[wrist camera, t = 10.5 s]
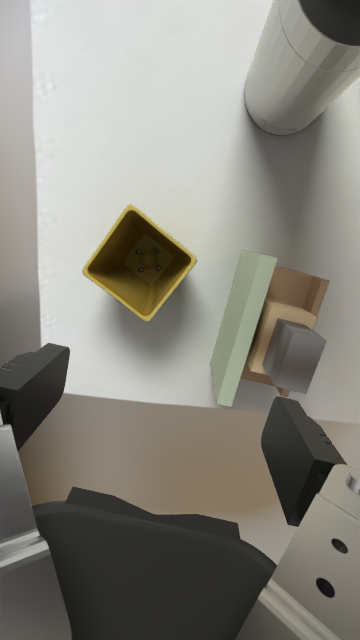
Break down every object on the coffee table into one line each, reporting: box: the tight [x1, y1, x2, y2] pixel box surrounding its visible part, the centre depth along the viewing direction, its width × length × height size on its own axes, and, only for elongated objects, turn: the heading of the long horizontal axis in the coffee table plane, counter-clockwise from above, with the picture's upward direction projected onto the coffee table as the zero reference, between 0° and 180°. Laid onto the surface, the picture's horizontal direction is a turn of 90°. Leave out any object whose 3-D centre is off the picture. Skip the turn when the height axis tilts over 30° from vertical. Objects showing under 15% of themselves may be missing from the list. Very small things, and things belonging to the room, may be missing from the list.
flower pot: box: [82, 204, 197, 322], centre depth 36 cm, size 9×9×9 cm
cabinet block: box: [246, 297, 326, 394], centre depth 32 cm, size 7×5×11 cm, turn 166°
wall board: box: [210, 250, 329, 407], centre depth 36 cm, size 16×9×11 cm, turn 167°
